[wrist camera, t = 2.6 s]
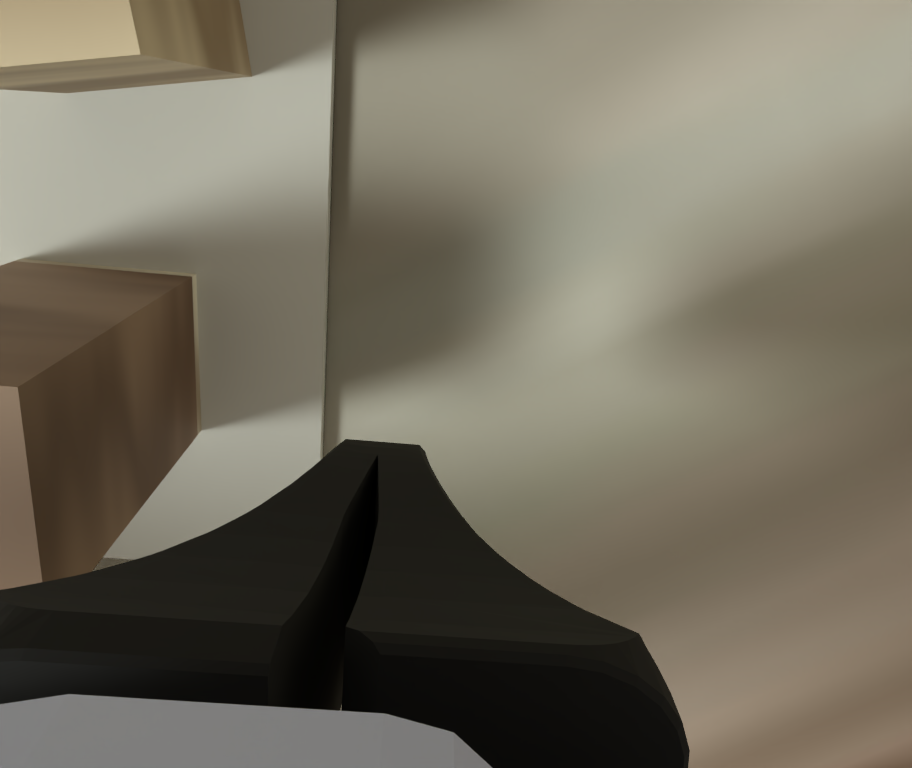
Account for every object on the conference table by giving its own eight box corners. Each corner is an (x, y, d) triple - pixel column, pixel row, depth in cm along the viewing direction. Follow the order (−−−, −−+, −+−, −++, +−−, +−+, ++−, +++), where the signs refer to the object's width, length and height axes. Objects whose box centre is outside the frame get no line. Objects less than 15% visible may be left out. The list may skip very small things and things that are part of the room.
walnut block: (201, 430, 18) (47, 627, 11) (39, 417, 18) (-220, 610, 11) (196, 273, 17) (17, 387, 10) (20, 258, 17) (-288, 363, 10)
